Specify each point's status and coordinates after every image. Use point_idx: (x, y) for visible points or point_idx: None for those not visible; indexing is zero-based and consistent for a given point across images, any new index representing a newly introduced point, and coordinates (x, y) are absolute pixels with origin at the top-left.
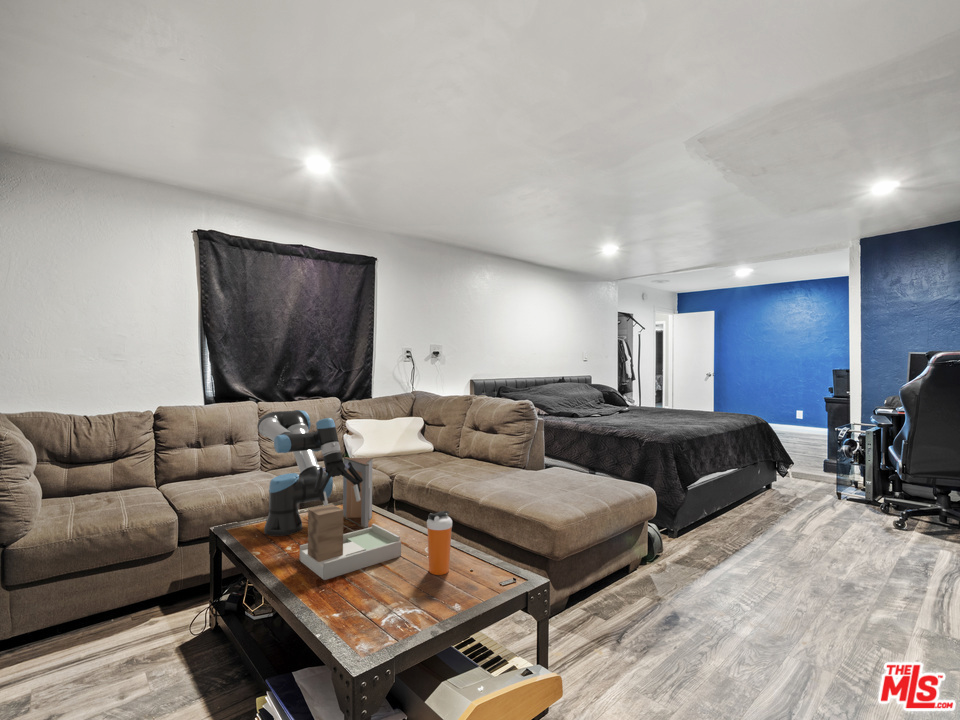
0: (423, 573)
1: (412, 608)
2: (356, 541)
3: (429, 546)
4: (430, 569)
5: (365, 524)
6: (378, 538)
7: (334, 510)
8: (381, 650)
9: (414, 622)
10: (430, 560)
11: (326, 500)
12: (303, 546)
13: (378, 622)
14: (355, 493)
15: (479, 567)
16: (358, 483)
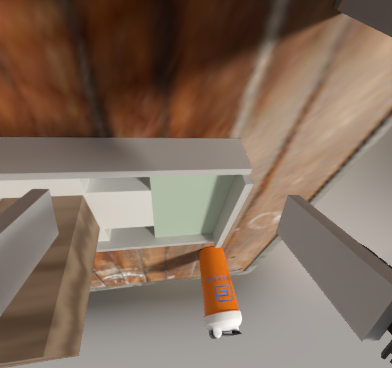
0: (193, 249)
1: (139, 273)
2: (160, 195)
3: (202, 287)
4: (199, 256)
5: (347, 14)
6: (212, 203)
7: (47, 360)
8: (91, 288)
9: (129, 280)
10: (200, 268)
11: (17, 277)
12: None
13: (101, 277)
14: (320, 241)
15: (244, 256)
16: (382, 352)
